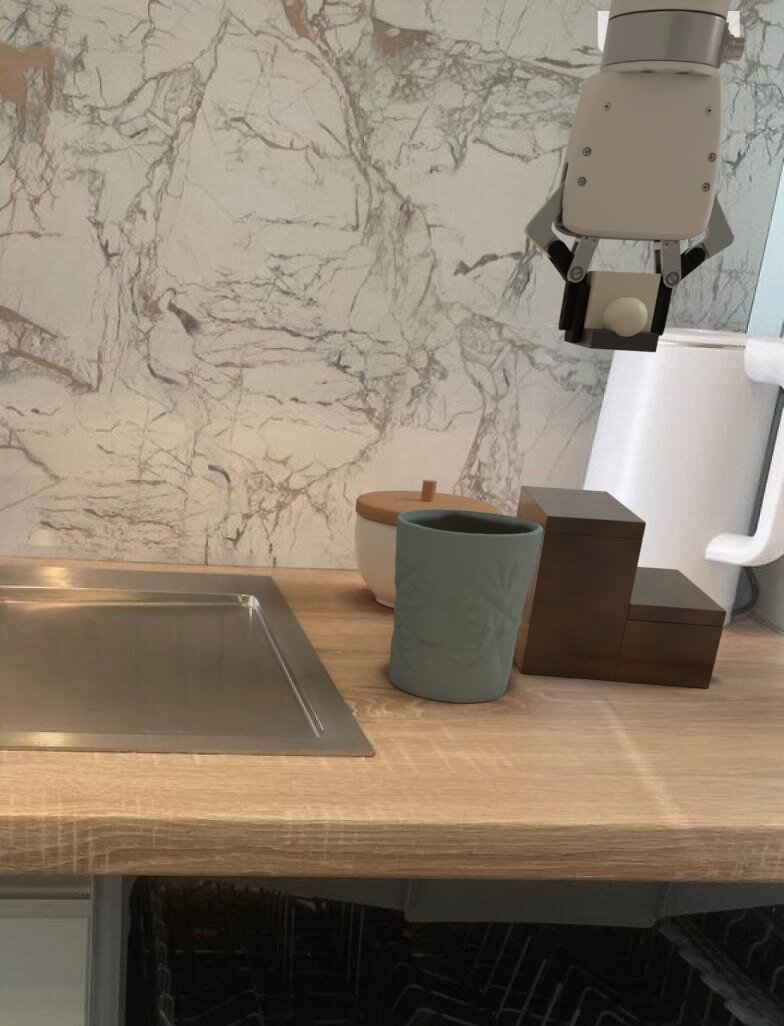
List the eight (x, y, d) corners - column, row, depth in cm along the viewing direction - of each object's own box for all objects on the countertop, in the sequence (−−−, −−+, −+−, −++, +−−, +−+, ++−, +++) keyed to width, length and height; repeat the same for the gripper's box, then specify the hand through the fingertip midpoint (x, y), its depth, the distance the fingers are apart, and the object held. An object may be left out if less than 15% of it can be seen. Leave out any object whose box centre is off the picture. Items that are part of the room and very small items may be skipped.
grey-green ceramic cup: (406, 707, 83) (428, 534, 78) (359, 663, 92) (376, 505, 87) (540, 704, 85) (570, 535, 80) (481, 661, 94) (505, 507, 89)
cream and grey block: (569, 343, 90) (581, 271, 88) (630, 346, 90) (643, 274, 88) (592, 349, 82) (606, 270, 80) (658, 353, 82) (674, 273, 80)
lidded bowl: (508, 619, 106) (528, 493, 102) (376, 621, 103) (391, 492, 99) (448, 585, 117) (464, 470, 113) (327, 586, 114) (338, 468, 110)
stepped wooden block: (663, 638, 103) (693, 497, 98) (709, 688, 90) (746, 529, 85) (498, 625, 104) (521, 485, 99) (520, 673, 91) (547, 515, 87)
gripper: (771, 68, 83) (711, 348, 90) (524, 59, 84) (485, 335, 92) (810, 49, 76) (742, 354, 83) (541, 39, 77) (497, 340, 85)
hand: (608, 341), depth 87 cm, fingers closed on cream and grey block, 4 cm apart
